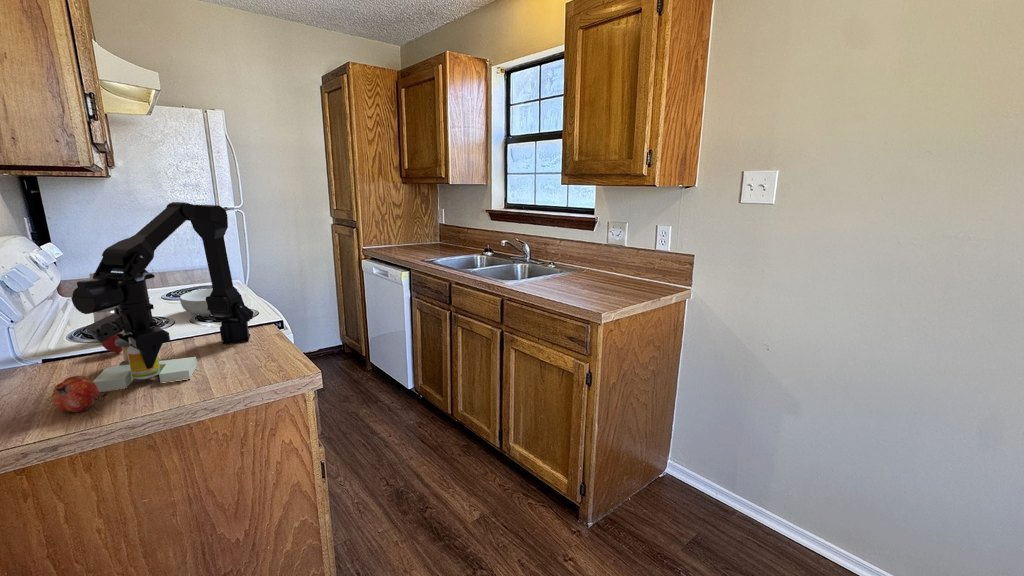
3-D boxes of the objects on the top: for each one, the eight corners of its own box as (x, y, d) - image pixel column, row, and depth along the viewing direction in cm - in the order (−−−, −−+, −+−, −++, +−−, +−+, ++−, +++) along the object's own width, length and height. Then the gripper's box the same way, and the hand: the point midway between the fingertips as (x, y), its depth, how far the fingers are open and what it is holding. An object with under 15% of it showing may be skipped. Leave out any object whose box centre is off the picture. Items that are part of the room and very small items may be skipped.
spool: (157, 357, 123) (153, 332, 121) (150, 367, 117) (145, 341, 115) (125, 361, 120) (120, 335, 119) (115, 371, 114) (110, 345, 112)
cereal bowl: (169, 318, 155) (166, 298, 153) (209, 305, 171) (206, 286, 169) (214, 322, 152) (212, 301, 151) (250, 308, 168) (248, 289, 166)
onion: (116, 358, 122) (110, 329, 120) (98, 355, 123) (92, 327, 121) (137, 350, 128) (132, 322, 126) (120, 348, 129) (115, 320, 127)
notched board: (197, 365, 118) (196, 356, 118) (190, 380, 110) (188, 370, 110) (108, 376, 111) (106, 367, 111) (94, 392, 103) (91, 382, 103)
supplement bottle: (163, 375, 110) (156, 336, 107) (134, 382, 106) (126, 342, 103) (158, 368, 113) (151, 330, 111) (130, 374, 109) (122, 336, 107)
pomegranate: (75, 411, 100) (26, 403, 91) (94, 378, 102) (49, 367, 93) (103, 419, 98) (56, 412, 89) (122, 385, 101) (78, 375, 92)
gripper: (74, 301, 104) (89, 365, 108) (100, 317, 93) (115, 388, 97) (135, 291, 113) (146, 351, 117) (165, 305, 102) (176, 371, 106)
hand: (145, 365), depth 109 cm, fingers closed on supplement bottle, 5 cm apart
